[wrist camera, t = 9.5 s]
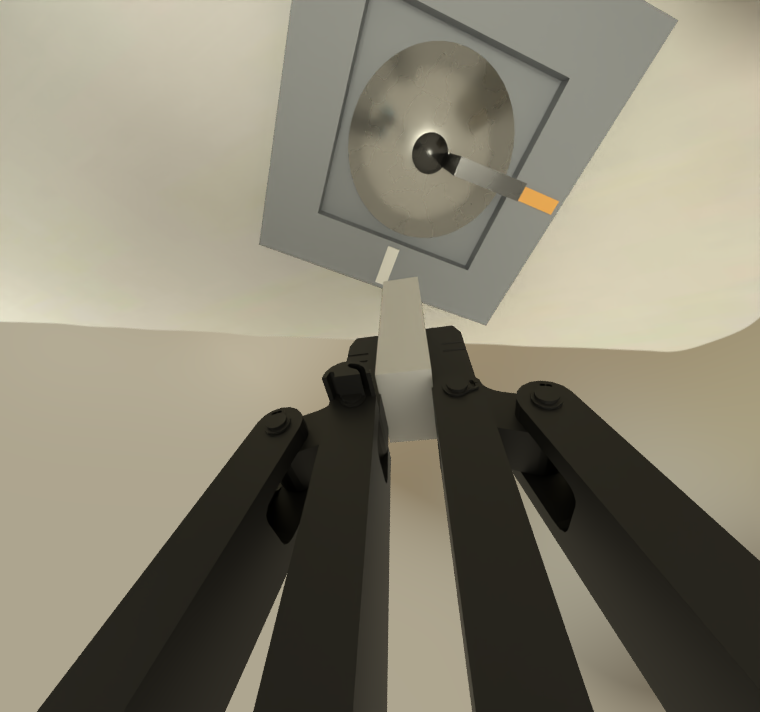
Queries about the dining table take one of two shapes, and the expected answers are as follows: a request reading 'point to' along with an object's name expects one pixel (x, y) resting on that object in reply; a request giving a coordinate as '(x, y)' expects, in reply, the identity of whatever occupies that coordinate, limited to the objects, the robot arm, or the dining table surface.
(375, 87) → the dial
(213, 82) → the dining table surface
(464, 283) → the panel
